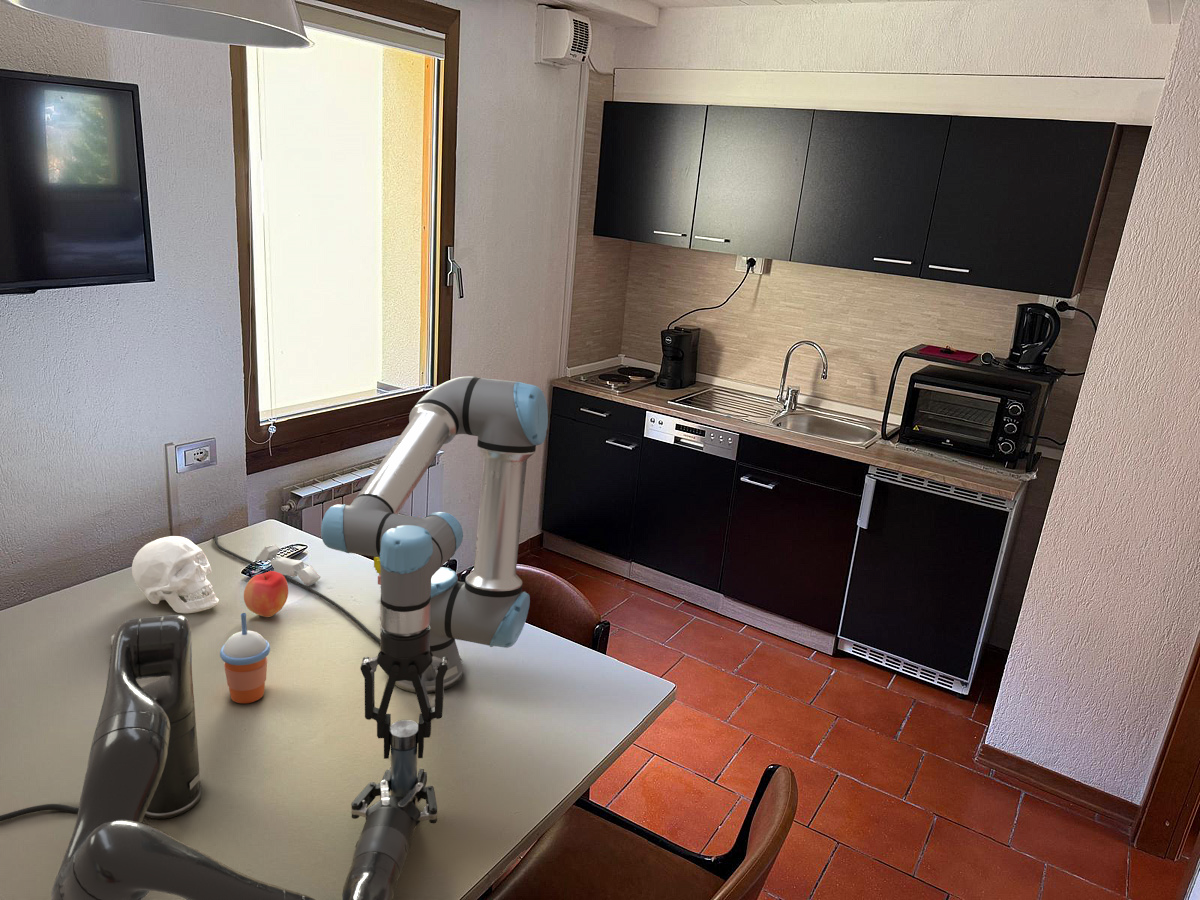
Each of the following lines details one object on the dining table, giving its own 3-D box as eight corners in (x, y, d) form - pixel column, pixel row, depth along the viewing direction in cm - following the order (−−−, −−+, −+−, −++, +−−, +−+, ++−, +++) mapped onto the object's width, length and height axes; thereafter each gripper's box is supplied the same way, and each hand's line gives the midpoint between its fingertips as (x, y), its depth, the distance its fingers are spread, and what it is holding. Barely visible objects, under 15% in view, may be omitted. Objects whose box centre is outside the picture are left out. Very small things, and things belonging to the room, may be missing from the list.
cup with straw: (255, 711, 165) (250, 629, 160) (212, 703, 167) (207, 621, 161) (281, 686, 174) (278, 607, 168) (240, 678, 175) (236, 599, 170)
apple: (273, 600, 207) (272, 562, 204) (297, 613, 202) (296, 575, 199) (237, 614, 200) (234, 575, 197) (261, 628, 194) (259, 588, 191)
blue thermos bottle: (389, 807, 143) (389, 726, 139) (414, 803, 145) (415, 723, 140) (391, 825, 140) (392, 742, 135) (417, 821, 141) (419, 738, 136)
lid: (425, 739, 139) (426, 727, 138) (403, 754, 135) (403, 741, 134) (404, 727, 141) (404, 715, 140) (382, 741, 137) (382, 729, 136)
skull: (197, 623, 194) (195, 558, 190) (119, 603, 200) (115, 540, 196) (237, 600, 207) (236, 539, 203) (163, 582, 212) (160, 522, 208)
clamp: (253, 565, 223) (254, 542, 221) (265, 560, 226) (266, 537, 224) (309, 593, 215) (310, 569, 213) (320, 588, 218) (321, 564, 216)
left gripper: (334, 865, 128) (364, 788, 144) (430, 871, 128) (449, 793, 144) (334, 824, 125) (364, 750, 142) (431, 830, 126) (450, 755, 142)
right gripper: (464, 613, 137) (459, 738, 143) (350, 612, 134) (351, 739, 141) (462, 637, 129) (458, 767, 136) (342, 637, 127) (344, 769, 134)
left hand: (407, 772), depth 143 cm, fingers closed on blue thermos bottle, 4 cm apart
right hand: (404, 752), depth 139 cm, fingers closed on lid, 5 cm apart
